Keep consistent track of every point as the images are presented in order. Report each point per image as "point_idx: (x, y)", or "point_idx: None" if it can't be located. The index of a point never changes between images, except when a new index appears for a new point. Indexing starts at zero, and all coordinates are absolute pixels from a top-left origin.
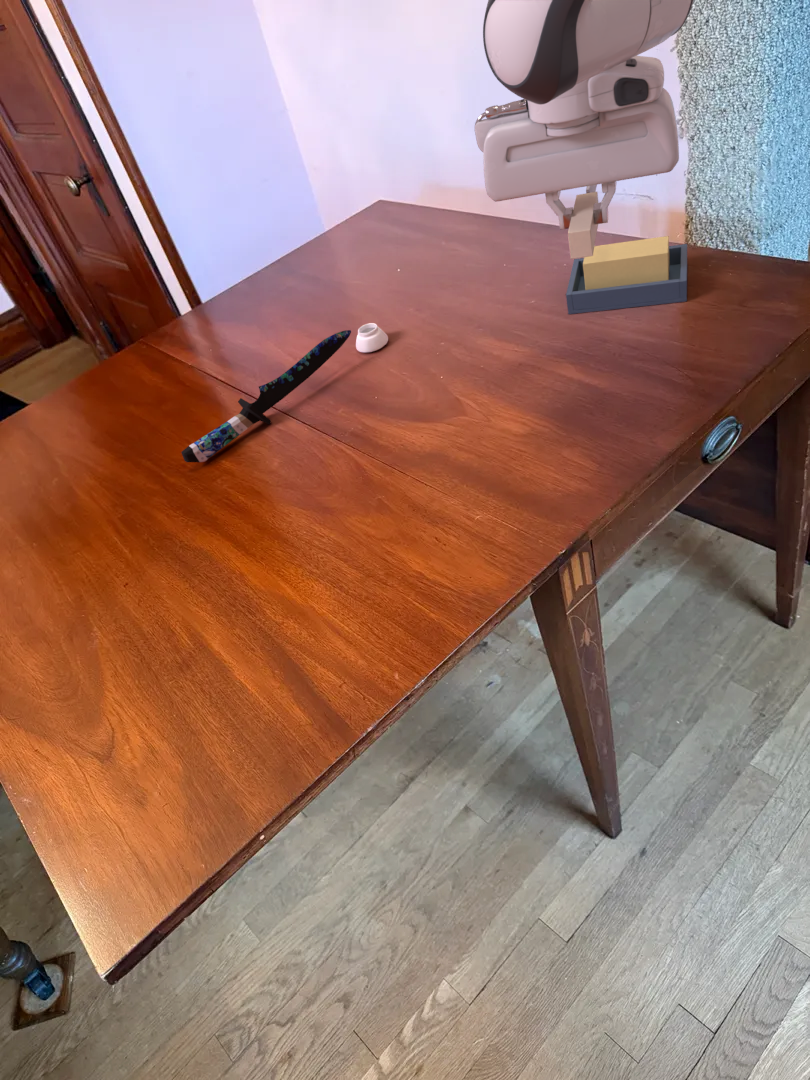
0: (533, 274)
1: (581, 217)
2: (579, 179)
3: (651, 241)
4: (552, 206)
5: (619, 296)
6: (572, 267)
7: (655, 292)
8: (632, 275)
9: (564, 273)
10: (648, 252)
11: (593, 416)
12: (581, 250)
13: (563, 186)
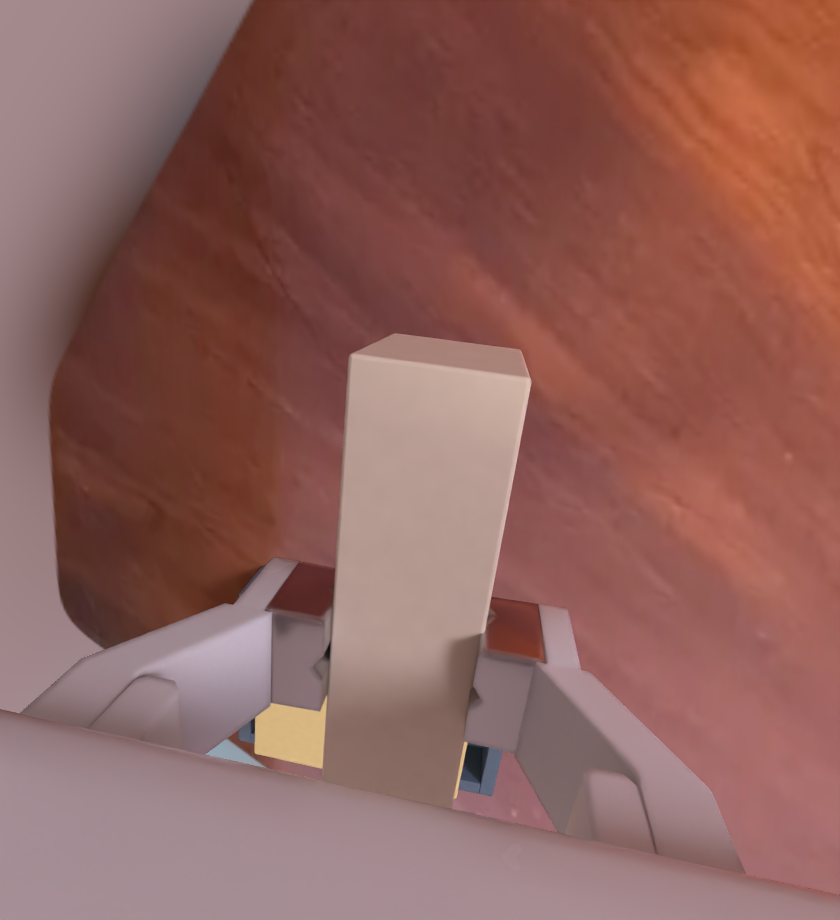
0: None
1: (412, 591)
2: (287, 870)
3: (293, 748)
4: (639, 739)
5: None
6: (498, 763)
7: None
8: None
9: (517, 782)
10: None
11: (499, 109)
12: (449, 345)
13: (531, 866)
